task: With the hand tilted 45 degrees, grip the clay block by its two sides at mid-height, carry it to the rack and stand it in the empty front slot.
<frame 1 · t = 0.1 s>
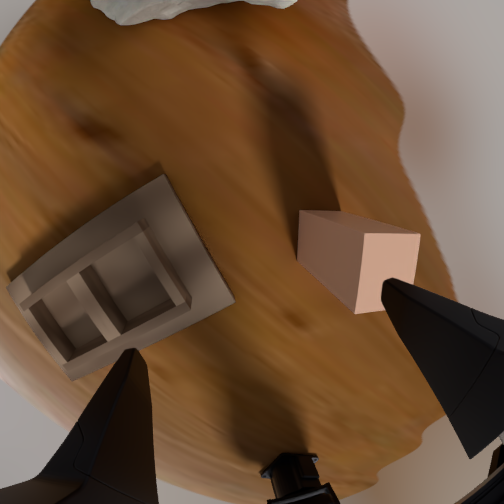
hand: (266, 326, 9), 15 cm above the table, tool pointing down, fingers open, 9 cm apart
clay block: (319, 235, 25), on the table
rack: (106, 291, 24), on the table
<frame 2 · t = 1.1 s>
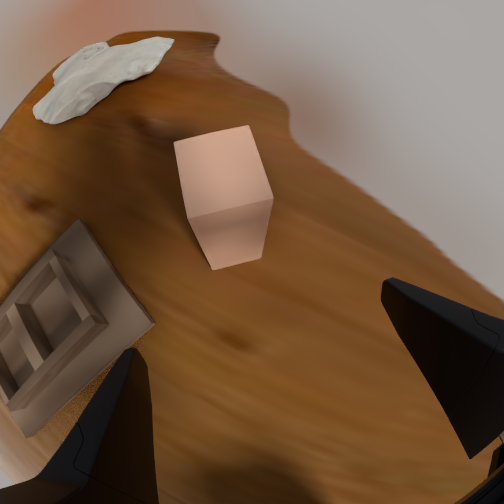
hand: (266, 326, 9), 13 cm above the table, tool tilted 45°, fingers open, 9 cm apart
clay block: (230, 238, 24), on the table
rock: (92, 92, 30), on the table
rack: (47, 337, 21), on the table
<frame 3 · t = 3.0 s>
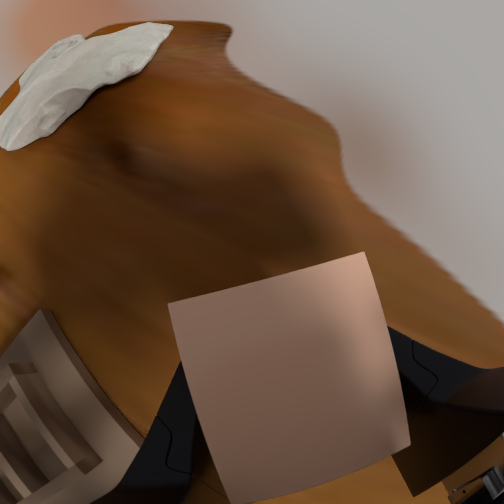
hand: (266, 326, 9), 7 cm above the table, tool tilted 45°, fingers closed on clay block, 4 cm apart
clay block: (264, 352, 15), on the table, touching gripper
rock: (64, 102, 21), on the table
rack: (29, 448, 12), on the table
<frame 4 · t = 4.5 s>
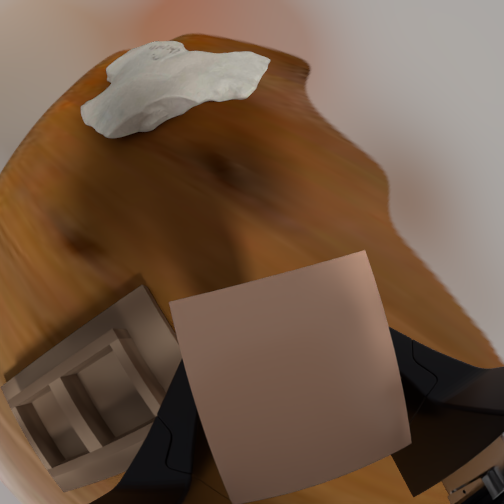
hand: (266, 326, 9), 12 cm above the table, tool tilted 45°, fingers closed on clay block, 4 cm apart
clay block: (264, 351, 15), point 6 cm above the table, touching gripper
rock: (159, 102, 28), on the table
rack: (95, 406, 19), on the table
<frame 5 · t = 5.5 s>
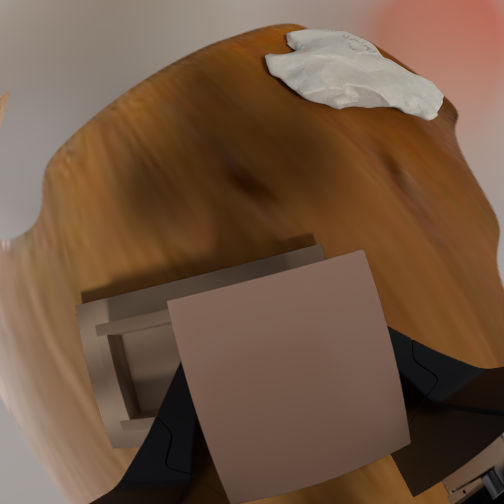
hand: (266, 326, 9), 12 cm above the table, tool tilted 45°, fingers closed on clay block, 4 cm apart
clay block: (263, 351, 15), point 5 cm above the table, touching gripper
rock: (340, 87, 29), on the table
rack: (212, 357, 20), on the table
when the fingers open (9 cm above the table, at t = 6.3 s): clay block drops 1 cm, resting on rack.
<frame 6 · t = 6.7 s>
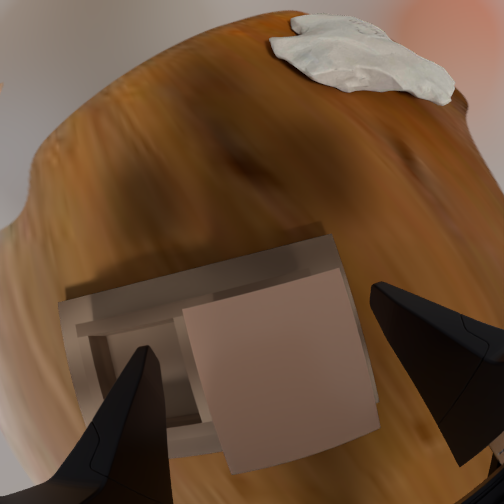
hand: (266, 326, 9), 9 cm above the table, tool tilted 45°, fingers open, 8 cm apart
clay block: (261, 350, 17), point 1 cm above the table, touching rack
rock: (348, 71, 26), on the table
rack: (208, 362, 18), on the table
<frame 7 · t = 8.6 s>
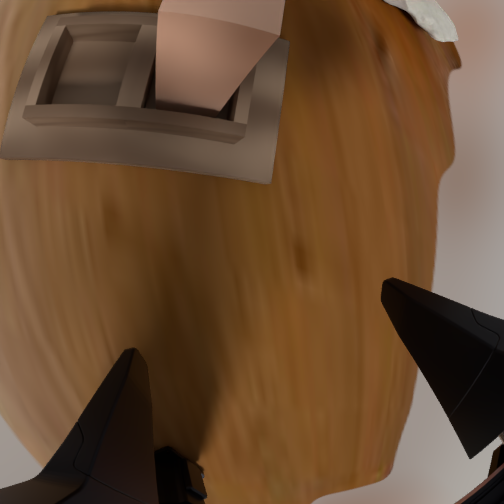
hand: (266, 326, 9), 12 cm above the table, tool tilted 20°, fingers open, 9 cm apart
clay block: (191, 84, 17), point 1 cm above the table, touching rack
rack: (142, 84, 17), on the table
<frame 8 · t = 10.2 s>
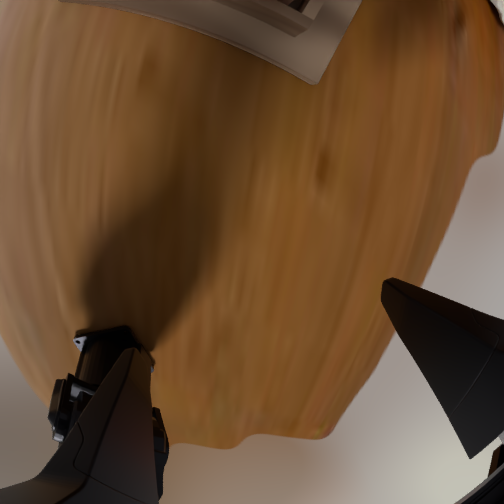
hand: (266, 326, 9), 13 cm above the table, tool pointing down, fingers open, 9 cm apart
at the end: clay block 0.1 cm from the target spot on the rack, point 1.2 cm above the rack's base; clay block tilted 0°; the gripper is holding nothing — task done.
